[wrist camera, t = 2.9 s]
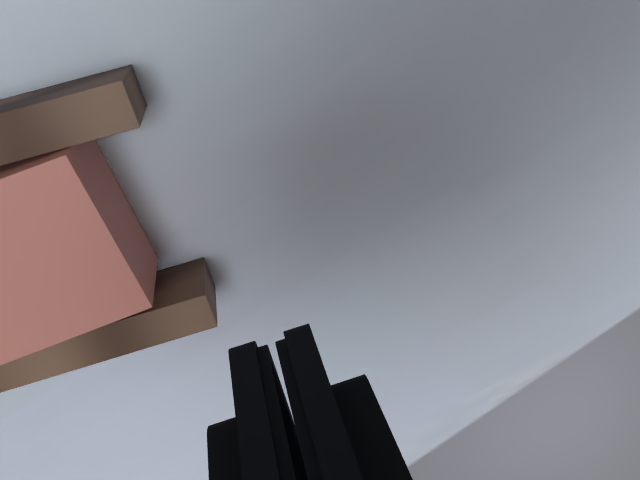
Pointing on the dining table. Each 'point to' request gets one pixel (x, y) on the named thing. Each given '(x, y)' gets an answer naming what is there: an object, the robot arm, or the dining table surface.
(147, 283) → the pink square block
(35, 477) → the dining table surface
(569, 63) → the dining table surface
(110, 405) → the dining table surface
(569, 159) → the dining table surface
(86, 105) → the walnut chute
